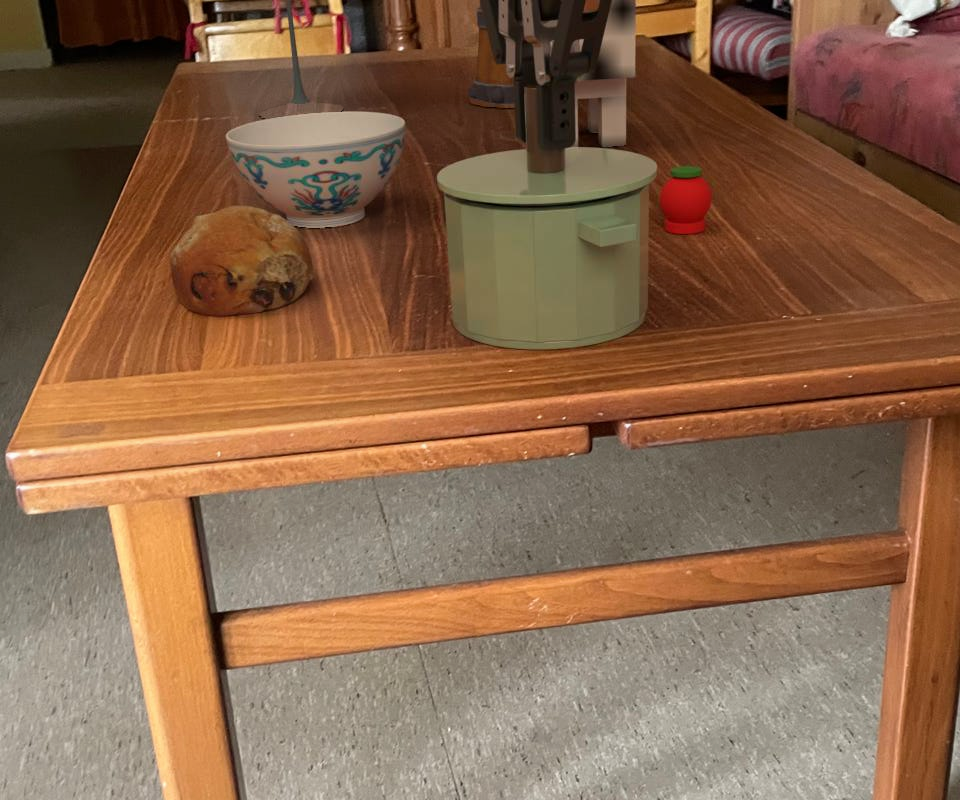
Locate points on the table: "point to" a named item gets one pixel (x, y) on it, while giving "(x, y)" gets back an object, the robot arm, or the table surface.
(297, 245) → the bread roll
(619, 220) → the pot
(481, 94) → the mug
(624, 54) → the toy llama
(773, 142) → the table surface
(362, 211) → the chinaware
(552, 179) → the lid
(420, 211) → the table surface
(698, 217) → the red rounded jar
